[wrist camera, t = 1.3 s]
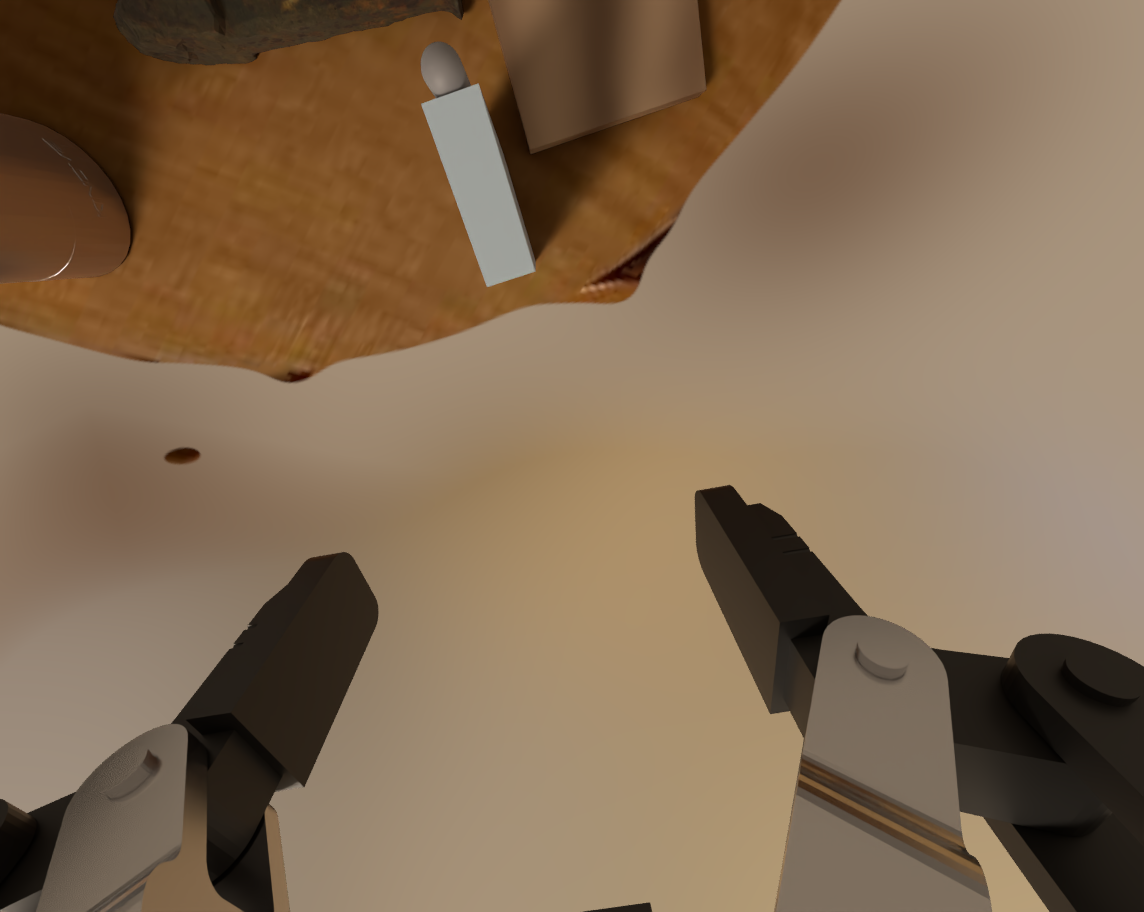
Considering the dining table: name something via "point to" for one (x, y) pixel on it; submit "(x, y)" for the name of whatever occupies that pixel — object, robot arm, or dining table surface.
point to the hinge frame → (597, 62)
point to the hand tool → (253, 24)
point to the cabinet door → (475, 167)
